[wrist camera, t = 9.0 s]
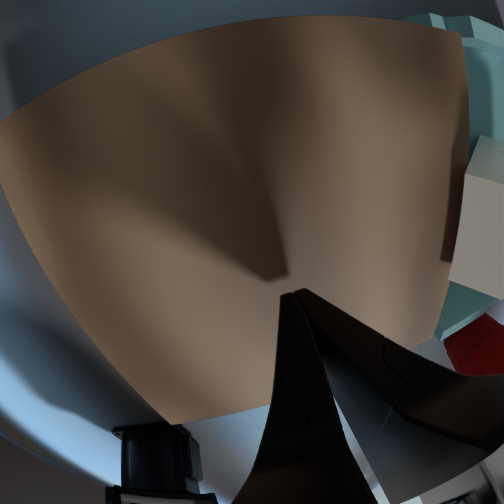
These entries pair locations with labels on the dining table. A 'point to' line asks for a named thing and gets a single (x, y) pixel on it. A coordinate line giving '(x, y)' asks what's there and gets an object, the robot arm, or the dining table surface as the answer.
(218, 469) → the dining table surface
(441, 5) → the dining table surface
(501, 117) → the box
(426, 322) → the walnut plate
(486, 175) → the tile
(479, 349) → the plastic cup
